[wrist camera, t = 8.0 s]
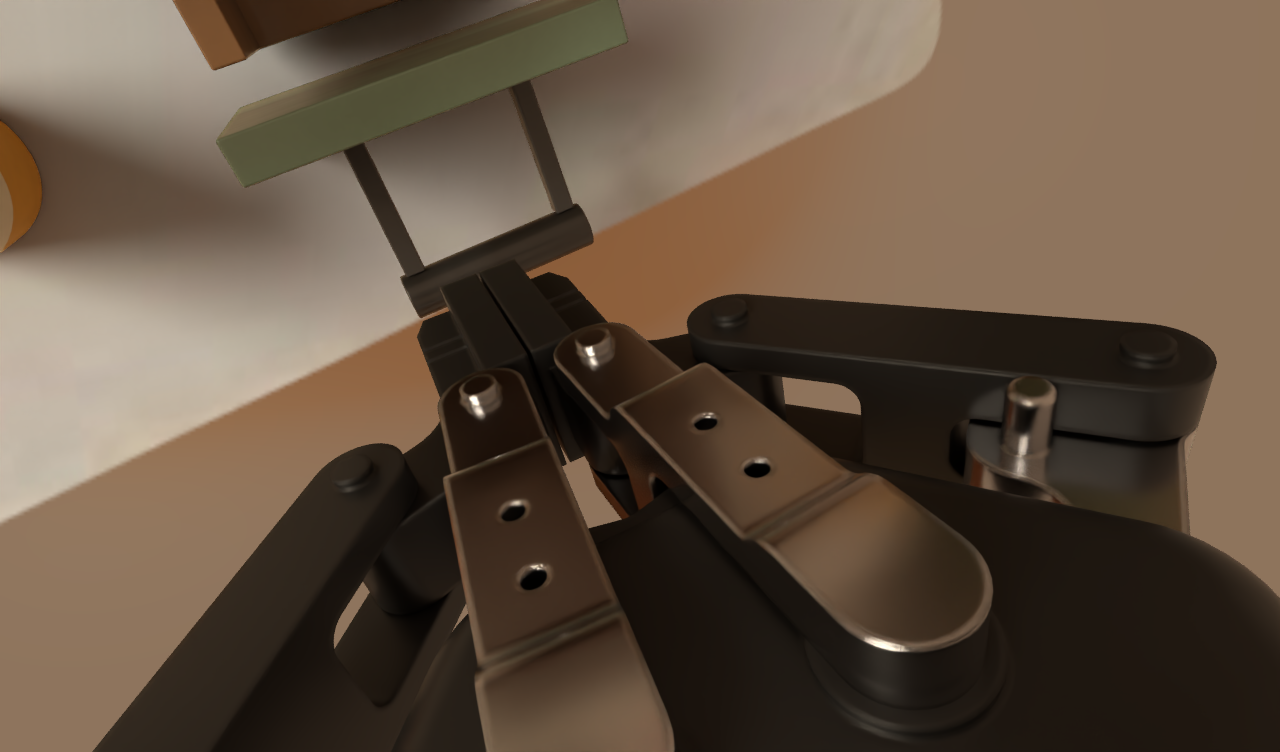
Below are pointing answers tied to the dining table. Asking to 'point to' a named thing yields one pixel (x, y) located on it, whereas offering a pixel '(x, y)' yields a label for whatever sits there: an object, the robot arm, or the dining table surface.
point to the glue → (17, 188)
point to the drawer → (408, 110)
